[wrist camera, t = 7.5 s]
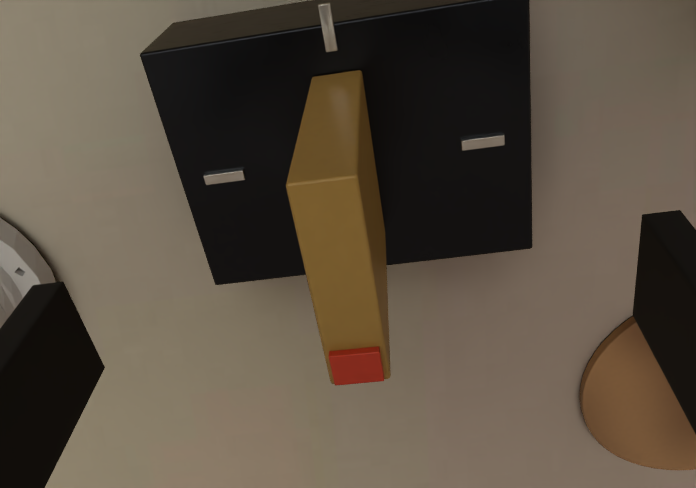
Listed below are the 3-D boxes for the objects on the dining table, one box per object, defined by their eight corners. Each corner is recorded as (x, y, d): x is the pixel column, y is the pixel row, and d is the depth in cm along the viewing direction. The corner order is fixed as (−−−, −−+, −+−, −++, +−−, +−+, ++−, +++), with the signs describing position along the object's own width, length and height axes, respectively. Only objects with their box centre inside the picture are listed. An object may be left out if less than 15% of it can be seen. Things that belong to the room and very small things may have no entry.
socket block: (505, -51, 22) (530, -30, 18) (513, 210, 27) (534, 265, 24) (166, 5, 23) (130, 35, 20) (236, 244, 29) (218, 301, 25)
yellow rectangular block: (311, 76, 20) (283, 189, 14) (361, 69, 20) (357, 179, 14) (341, 237, 24) (330, 392, 17) (385, 232, 23) (391, 386, 17)
